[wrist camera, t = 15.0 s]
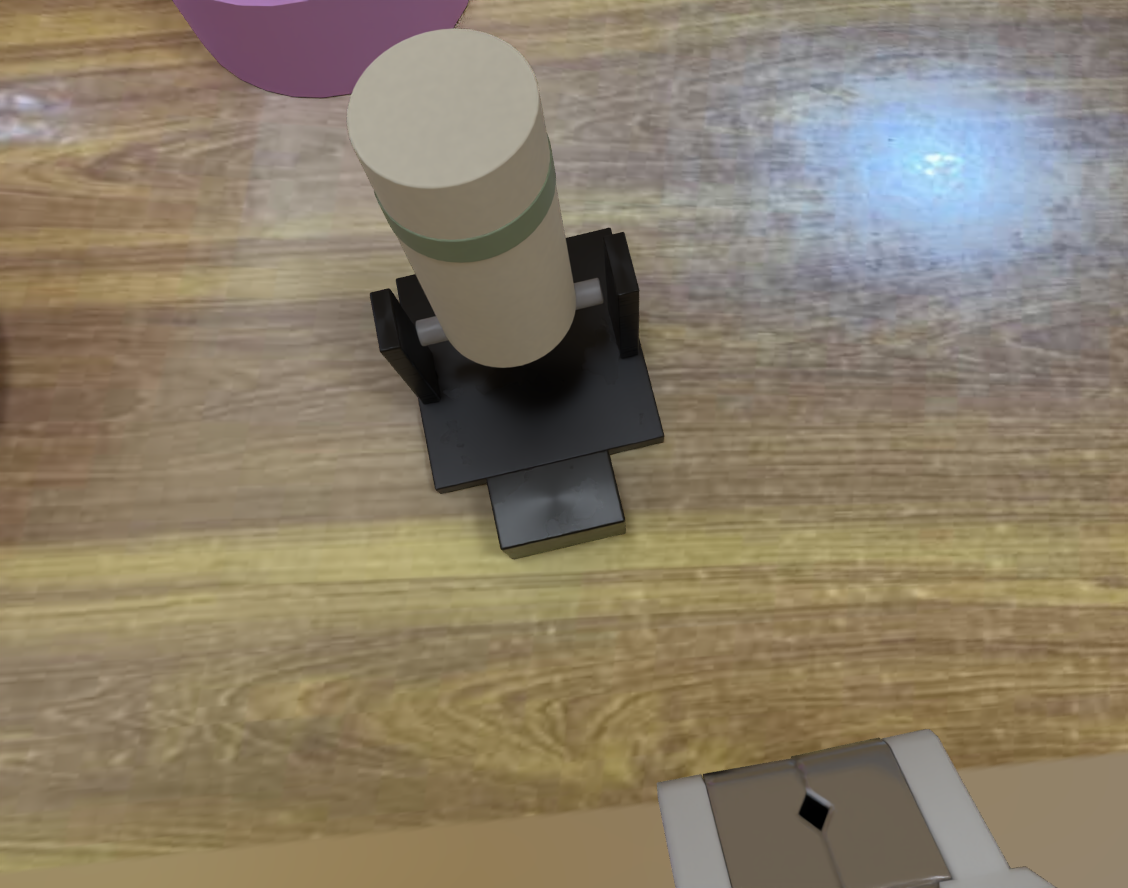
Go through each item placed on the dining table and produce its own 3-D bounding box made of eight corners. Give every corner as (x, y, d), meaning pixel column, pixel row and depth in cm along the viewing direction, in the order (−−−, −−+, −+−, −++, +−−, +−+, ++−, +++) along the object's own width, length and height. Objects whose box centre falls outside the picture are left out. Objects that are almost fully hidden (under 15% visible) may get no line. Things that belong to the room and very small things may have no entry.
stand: (683, 520, 38) (696, 484, 30) (455, 573, 38) (409, 551, 31) (611, 236, 41) (605, 139, 34) (400, 287, 42) (347, 202, 34)
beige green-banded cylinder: (596, 152, 23) (554, -3, 25) (320, 218, 23) (299, 60, 25) (617, 356, 34) (587, 239, 36) (432, 400, 34) (412, 281, 36)
